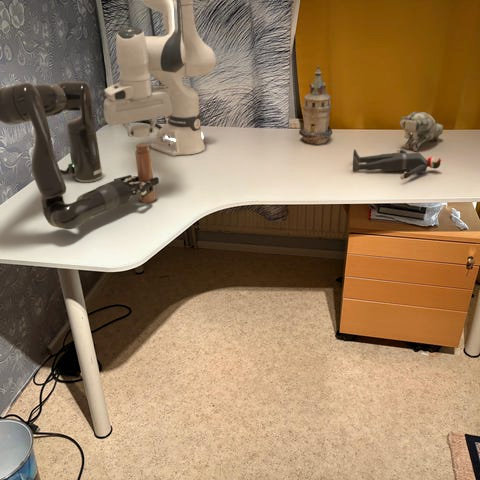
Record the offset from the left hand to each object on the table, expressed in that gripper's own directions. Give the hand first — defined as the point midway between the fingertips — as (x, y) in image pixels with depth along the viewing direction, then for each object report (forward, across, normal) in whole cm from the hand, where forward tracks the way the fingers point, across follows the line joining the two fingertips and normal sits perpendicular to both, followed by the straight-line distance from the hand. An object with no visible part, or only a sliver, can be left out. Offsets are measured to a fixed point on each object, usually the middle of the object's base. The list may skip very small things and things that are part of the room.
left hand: (152, 178), depth 171 cm
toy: (+68, -52, +7) cm, 86 cm away
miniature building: (+79, -13, +7) cm, 80 cm away
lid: (-3, 0, -17) cm, 17 cm away
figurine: (+98, -49, +7) cm, 110 cm away
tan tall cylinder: (-3, 0, +7) cm, 7 cm away
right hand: (-3, 0, -15) cm, 15 cm away
